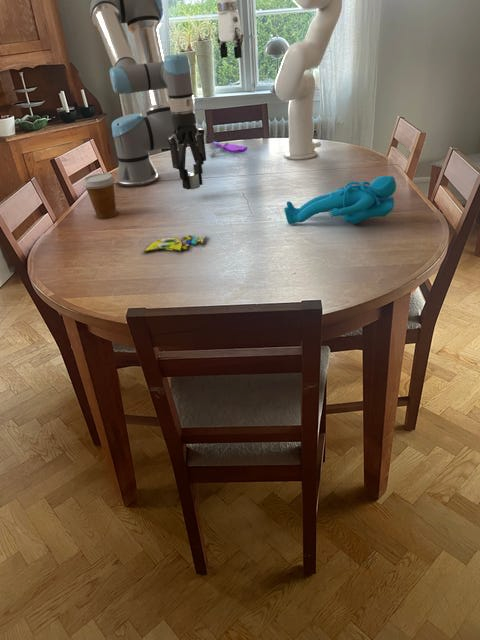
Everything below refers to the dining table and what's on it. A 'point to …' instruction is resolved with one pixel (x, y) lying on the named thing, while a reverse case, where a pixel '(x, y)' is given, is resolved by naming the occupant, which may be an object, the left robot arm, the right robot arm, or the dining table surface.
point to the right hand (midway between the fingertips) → (231, 57)
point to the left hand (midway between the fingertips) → (192, 186)
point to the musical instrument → (229, 148)
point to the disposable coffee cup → (101, 194)
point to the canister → (193, 180)
